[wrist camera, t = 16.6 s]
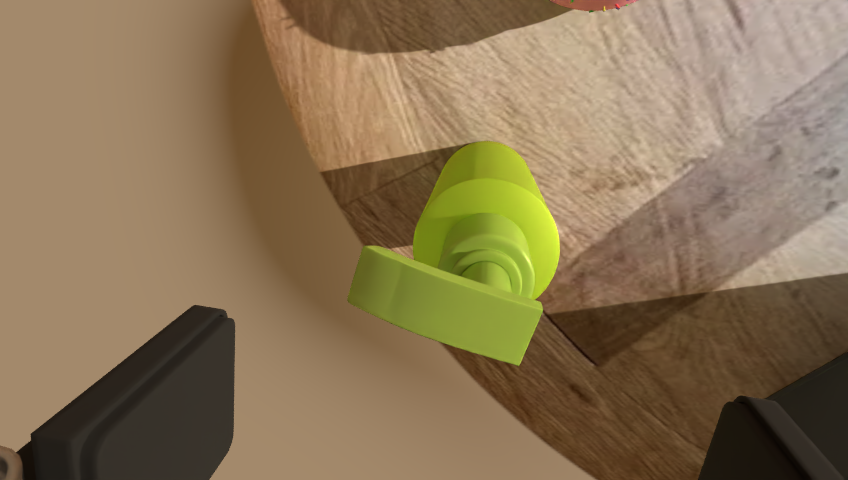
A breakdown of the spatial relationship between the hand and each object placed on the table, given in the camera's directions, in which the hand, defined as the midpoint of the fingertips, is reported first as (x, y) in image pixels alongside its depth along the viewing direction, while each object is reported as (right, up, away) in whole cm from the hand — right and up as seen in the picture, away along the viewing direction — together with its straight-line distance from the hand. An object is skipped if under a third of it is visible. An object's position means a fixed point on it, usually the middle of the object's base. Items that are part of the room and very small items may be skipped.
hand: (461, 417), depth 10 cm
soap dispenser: (+3, +7, +24) cm, 25 cm away
